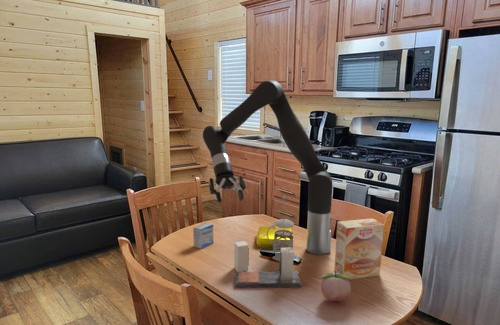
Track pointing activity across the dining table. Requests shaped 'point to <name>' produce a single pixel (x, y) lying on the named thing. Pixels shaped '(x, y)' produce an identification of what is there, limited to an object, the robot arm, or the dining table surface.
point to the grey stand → (272, 274)
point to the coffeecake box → (359, 248)
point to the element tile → (262, 236)
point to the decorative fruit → (335, 286)
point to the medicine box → (203, 235)
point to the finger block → (241, 256)
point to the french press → (282, 235)
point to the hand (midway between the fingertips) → (231, 201)
